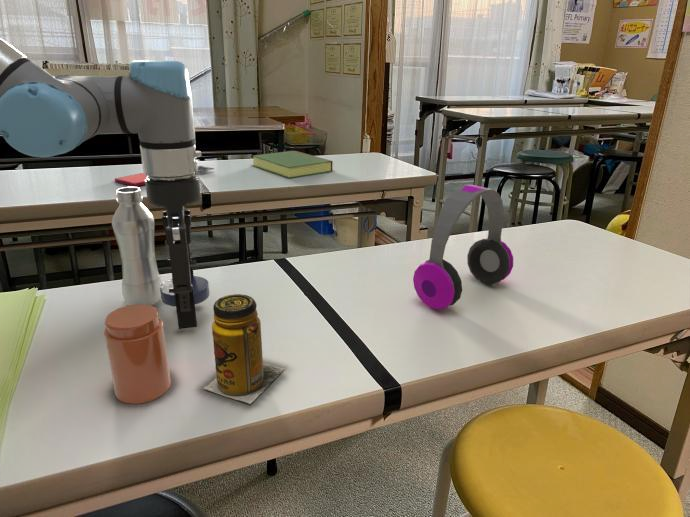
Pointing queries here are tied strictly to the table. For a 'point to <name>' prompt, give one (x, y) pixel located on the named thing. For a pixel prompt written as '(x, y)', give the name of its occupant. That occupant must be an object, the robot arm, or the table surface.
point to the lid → (198, 288)
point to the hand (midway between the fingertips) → (188, 314)
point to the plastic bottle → (136, 248)
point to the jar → (137, 353)
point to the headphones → (483, 257)
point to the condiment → (239, 350)
